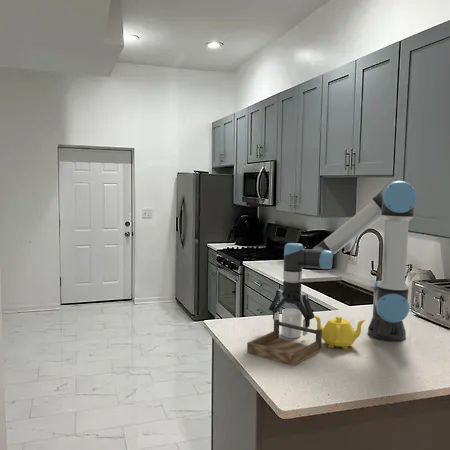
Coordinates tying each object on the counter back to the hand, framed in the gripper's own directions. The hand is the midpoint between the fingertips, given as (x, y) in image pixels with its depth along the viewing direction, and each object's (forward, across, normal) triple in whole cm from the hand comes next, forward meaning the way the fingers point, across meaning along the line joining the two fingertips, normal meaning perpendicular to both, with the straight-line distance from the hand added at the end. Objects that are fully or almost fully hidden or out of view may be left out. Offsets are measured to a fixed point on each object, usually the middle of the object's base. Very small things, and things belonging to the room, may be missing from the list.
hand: (290, 331), depth 191 cm
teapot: (+2, -20, -2) cm, 21 cm away
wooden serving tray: (+2, -7, +17) cm, 19 cm away
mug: (+2, 0, 0) cm, 3 cm away
